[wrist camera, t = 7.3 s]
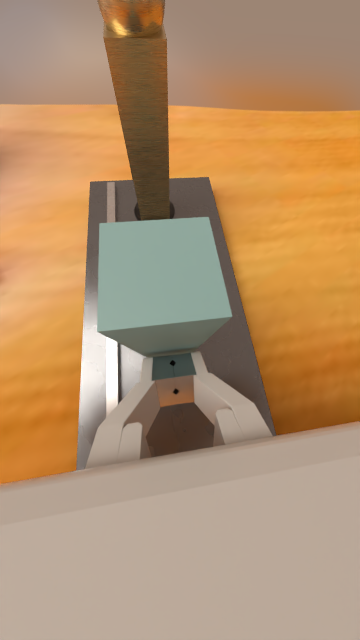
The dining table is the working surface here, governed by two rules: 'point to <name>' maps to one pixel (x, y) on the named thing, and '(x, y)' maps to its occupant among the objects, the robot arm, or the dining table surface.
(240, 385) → the bolt-hole plate
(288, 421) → the dining table surface
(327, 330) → the dining table surface
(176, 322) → the block
